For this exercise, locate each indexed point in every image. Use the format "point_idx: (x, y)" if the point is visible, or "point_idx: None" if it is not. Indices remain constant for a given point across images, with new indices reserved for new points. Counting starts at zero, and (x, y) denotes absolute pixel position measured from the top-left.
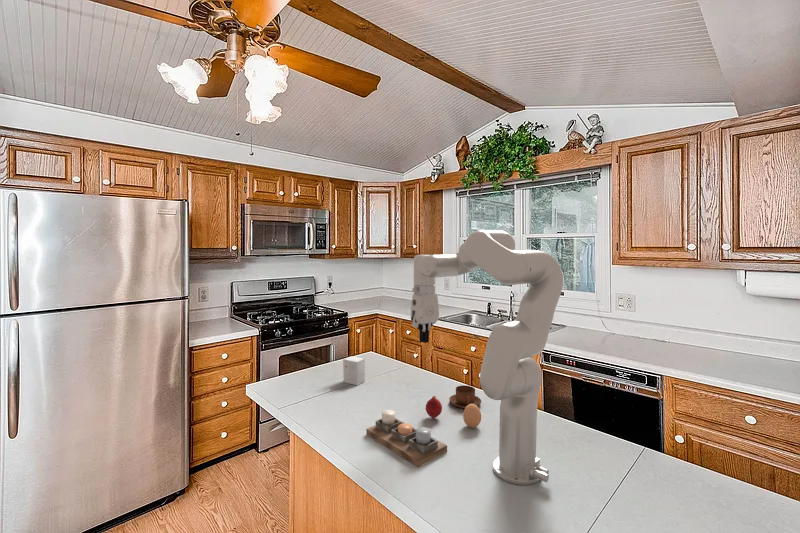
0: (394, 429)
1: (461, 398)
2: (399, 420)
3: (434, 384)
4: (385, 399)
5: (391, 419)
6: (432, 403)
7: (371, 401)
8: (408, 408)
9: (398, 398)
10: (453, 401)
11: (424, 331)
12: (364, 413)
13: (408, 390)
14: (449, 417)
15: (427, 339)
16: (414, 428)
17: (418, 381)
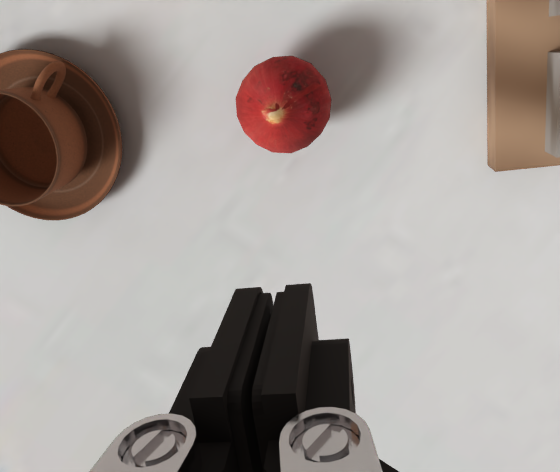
0: None
1: (68, 122)
2: (497, 130)
3: (55, 392)
4: (356, 392)
5: None
6: (306, 89)
7: (424, 410)
8: (325, 257)
9: None
10: (91, 183)
11: (324, 416)
12: (532, 330)
13: None
14: (215, 59)
15: (260, 310)
16: (498, 4)
17: None
